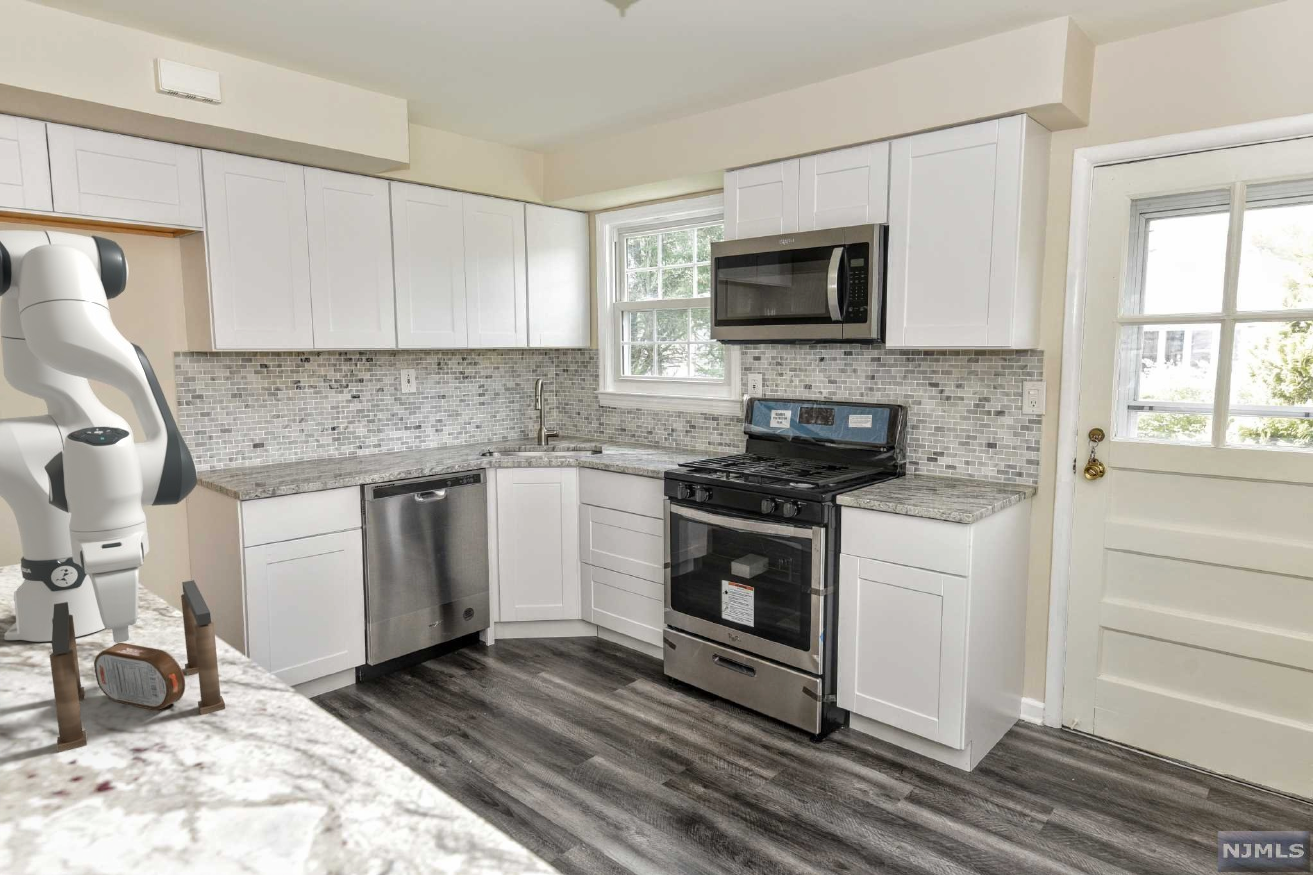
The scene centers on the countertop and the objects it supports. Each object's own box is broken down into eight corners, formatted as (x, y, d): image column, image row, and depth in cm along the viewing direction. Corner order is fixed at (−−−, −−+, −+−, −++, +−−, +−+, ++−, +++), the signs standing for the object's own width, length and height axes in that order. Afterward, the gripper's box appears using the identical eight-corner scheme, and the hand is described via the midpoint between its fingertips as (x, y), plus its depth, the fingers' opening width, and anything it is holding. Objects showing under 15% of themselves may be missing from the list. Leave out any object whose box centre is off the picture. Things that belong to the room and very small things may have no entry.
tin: (189, 706, 112) (184, 650, 111) (169, 716, 109) (163, 659, 108) (114, 691, 117) (108, 637, 116) (93, 700, 114) (86, 645, 113)
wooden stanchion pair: (59, 697, 115) (49, 616, 113) (206, 663, 126) (199, 590, 125) (57, 752, 100) (46, 660, 98) (225, 708, 111) (217, 625, 109)
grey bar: (55, 614, 113) (54, 604, 113) (69, 612, 114) (67, 601, 114) (53, 655, 99) (51, 643, 99) (68, 652, 100) (67, 640, 100)
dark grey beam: (183, 591, 123) (182, 582, 123) (194, 589, 124) (193, 580, 123) (198, 625, 108) (197, 614, 108) (211, 623, 109) (210, 612, 109)
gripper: (82, 532, 115) (92, 622, 117) (83, 565, 99) (95, 668, 101) (133, 526, 119) (142, 613, 121) (143, 556, 103) (153, 656, 105)
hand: (121, 638), depth 111 cm, fingers closed
